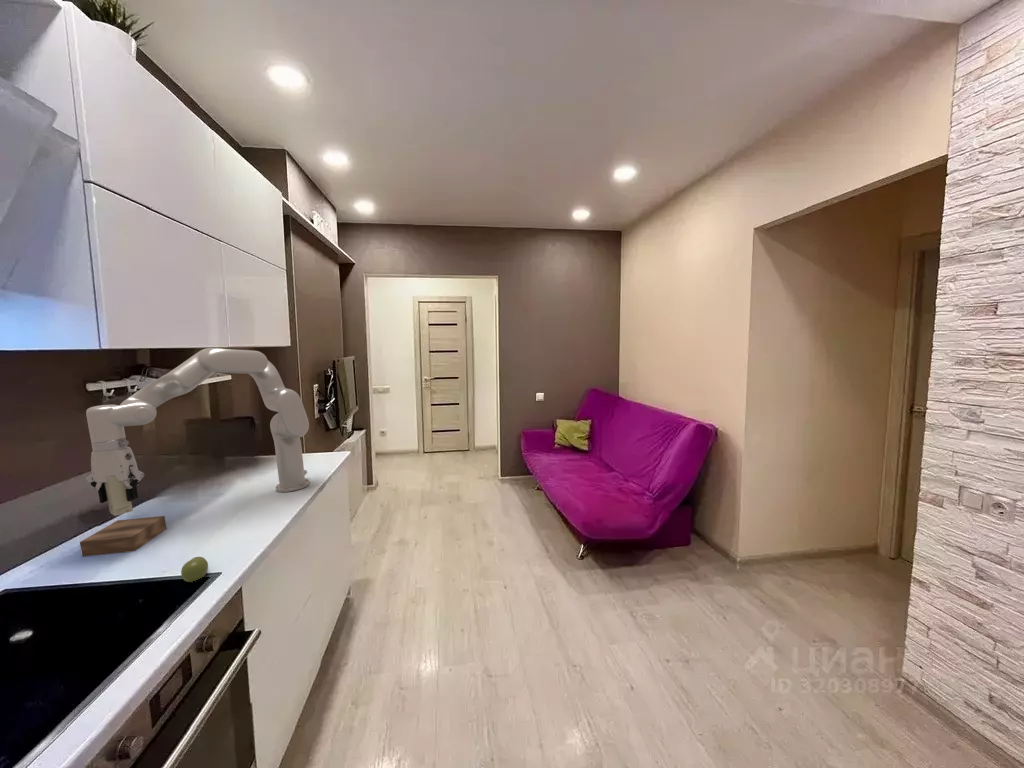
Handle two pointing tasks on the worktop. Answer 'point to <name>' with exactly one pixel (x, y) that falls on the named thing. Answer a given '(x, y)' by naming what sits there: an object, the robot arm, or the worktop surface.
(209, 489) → the worktop surface
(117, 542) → the walnut block
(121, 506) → the skincare box
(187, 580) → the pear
